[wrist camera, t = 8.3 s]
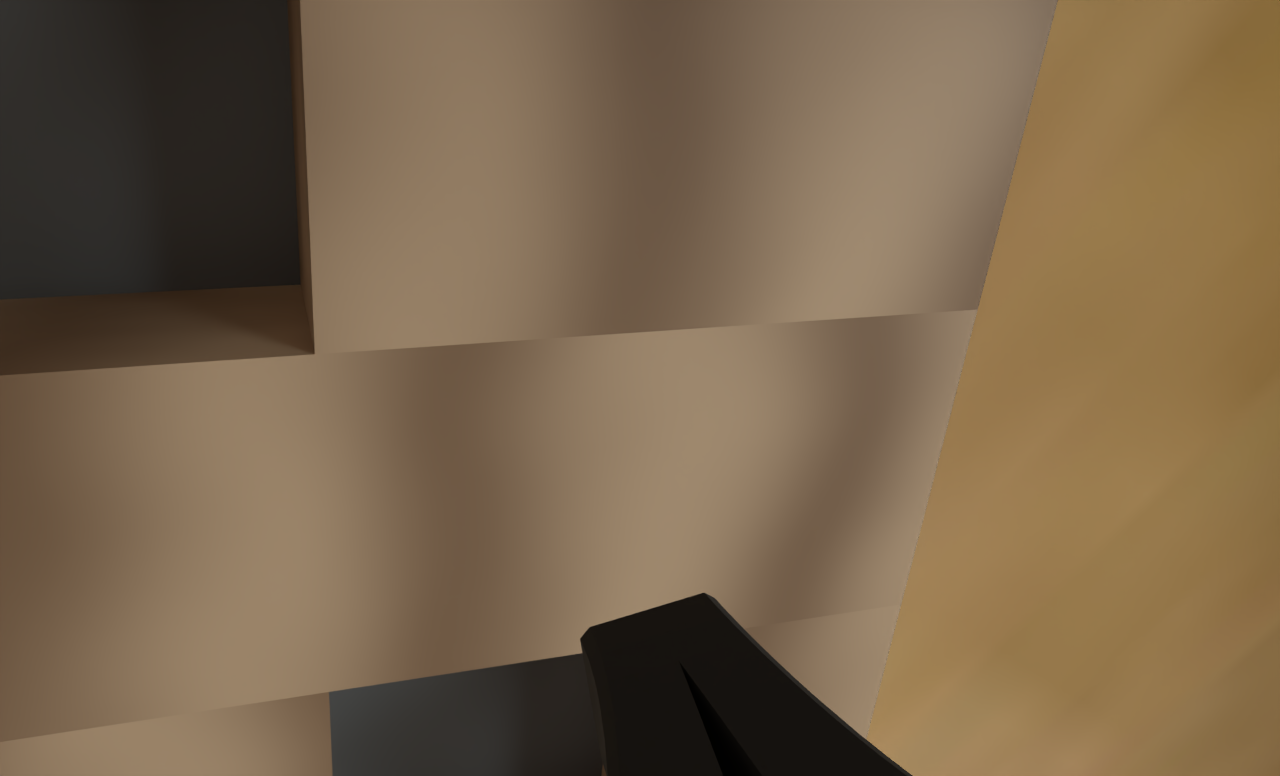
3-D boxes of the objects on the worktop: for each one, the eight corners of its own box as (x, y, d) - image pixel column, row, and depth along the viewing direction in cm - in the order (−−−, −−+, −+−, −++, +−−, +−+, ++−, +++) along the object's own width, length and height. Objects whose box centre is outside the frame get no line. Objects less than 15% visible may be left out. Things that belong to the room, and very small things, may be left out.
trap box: (1006, -207, 19) (1262, -158, 15) (788, 784, 30) (896, 984, 26) (-1020, -388, 12) (-1733, -397, 7) (-336, 1007, 23) (-458, 1342, 18)
